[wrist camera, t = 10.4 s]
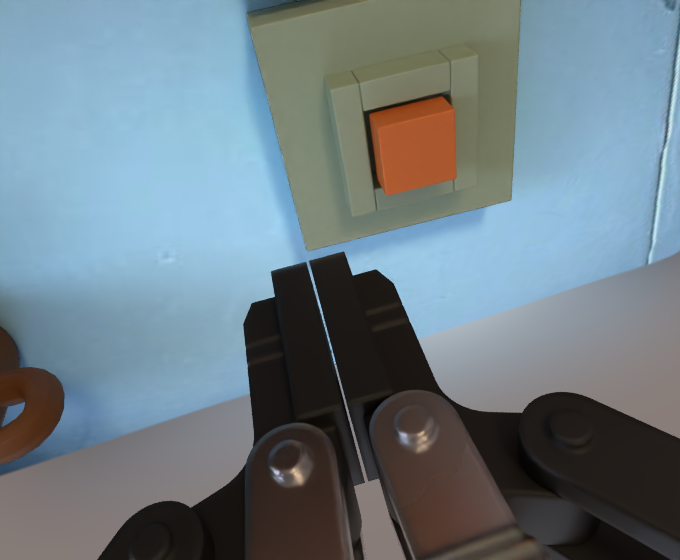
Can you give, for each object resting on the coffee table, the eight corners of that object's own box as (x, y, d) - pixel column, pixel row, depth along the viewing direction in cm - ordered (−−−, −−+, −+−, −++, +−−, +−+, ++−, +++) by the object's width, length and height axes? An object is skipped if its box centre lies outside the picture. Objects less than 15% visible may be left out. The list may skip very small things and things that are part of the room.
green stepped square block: (245, 12, 23) (251, 39, 20) (498, -46, 23) (543, -28, 20) (300, 226, 30) (311, 271, 27) (493, 178, 30) (525, 217, 27)
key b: (368, 112, 23) (377, 128, 21) (442, 94, 23) (455, 109, 22) (377, 179, 25) (386, 197, 24) (445, 162, 25) (457, 179, 24)
